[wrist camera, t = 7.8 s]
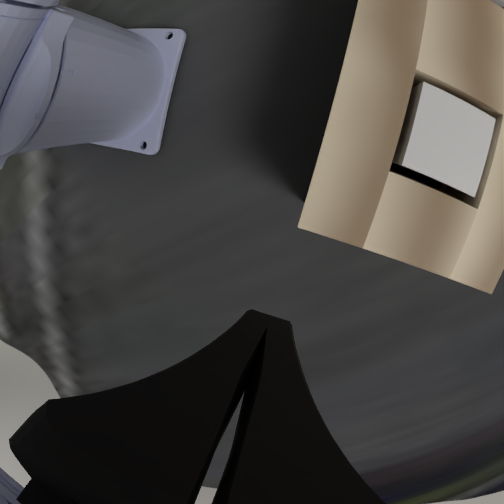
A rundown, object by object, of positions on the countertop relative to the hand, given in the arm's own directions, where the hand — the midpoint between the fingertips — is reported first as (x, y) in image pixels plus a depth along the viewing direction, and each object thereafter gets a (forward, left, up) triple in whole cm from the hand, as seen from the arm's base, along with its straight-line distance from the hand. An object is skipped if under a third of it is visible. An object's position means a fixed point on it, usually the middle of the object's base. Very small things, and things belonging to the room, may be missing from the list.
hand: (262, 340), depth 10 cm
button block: (+5, +13, -9) cm, 17 cm away
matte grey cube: (+5, +8, -9) cm, 13 cm away
